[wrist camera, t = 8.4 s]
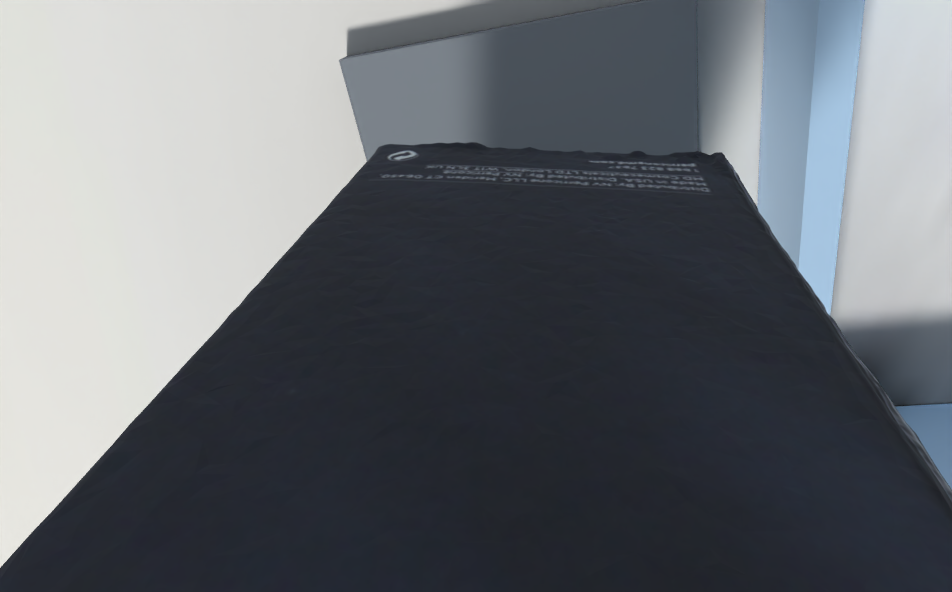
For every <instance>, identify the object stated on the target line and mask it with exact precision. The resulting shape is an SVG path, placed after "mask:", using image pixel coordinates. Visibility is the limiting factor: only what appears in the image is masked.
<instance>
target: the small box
mask: <svg viewBox="0 0 952 592" xmlns="http://www.w3.org/2000/svg"><path fill="white" fill-rule="evenodd" d="M0 592H952V489H951V488H950V486H949V485H948V483H947V482H946V480H945V479H944V478H943V476H942V475H941V473H940V472H939V470H938V469H937V467H936V465H935V464H934V462H933V460H932V459H931V457H930V456H929V454H928V452H927V451H926V449H925V448H924V446H923V444H922V443H921V441H920V439H919V438H918V436H917V434H916V433H915V432H914V431H913V430H912V428H911V427H910V426H909V425H908V424H907V423H906V422H905V420H904V419H903V417H902V416H901V414H900V413H899V412H898V410H897V409H896V407H895V406H894V404H893V403H892V401H891V400H890V398H889V397H888V396H887V394H886V393H885V391H884V390H883V388H882V387H881V385H880V383H879V382H878V380H877V379H876V378H875V377H874V375H873V374H872V373H871V372H870V371H869V369H868V368H867V367H866V366H865V365H864V363H863V362H862V361H861V360H860V359H859V358H858V356H857V355H856V353H855V352H854V350H853V349H852V347H851V346H850V345H849V343H848V342H847V340H846V339H845V337H844V336H843V334H842V332H841V330H840V329H839V327H838V325H837V324H836V322H835V321H834V320H833V318H832V317H831V316H830V315H829V314H828V313H827V311H826V309H825V306H824V305H823V303H822V302H821V301H820V299H819V298H818V297H817V295H816V294H815V293H814V291H813V289H812V288H811V286H810V285H809V284H808V282H807V281H806V280H805V279H804V277H803V276H802V274H801V273H800V272H799V270H798V269H797V267H796V264H795V263H794V262H793V261H792V259H791V258H790V256H789V255H788V253H787V252H786V251H785V250H784V248H783V247H782V246H781V245H780V243H779V242H778V240H777V239H776V237H775V236H774V234H773V233H772V231H771V229H770V227H769V225H768V223H767V222H766V221H765V219H764V218H763V217H762V215H761V214H760V213H759V211H758V208H757V206H756V205H755V203H754V202H753V200H752V198H751V197H750V195H749V193H748V192H747V190H746V188H745V187H744V185H743V183H742V182H741V180H740V178H739V176H738V174H737V173H736V171H735V170H734V168H733V166H732V165H731V164H730V163H729V161H728V160H727V159H726V158H725V156H724V155H723V153H714V154H712V155H707V154H705V153H702V152H699V151H696V152H675V153H672V154H669V155H647V154H645V153H644V152H642V151H633V152H631V153H628V154H621V153H601V152H584V151H581V150H578V151H572V152H563V151H548V150H539V149H535V148H532V147H527V148H523V149H507V148H501V147H498V148H490V147H486V146H485V145H483V144H480V143H477V142H469V143H459V142H455V143H433V144H418V145H400V144H386V145H383V146H380V147H378V149H377V150H376V152H375V153H374V154H373V156H372V157H371V158H370V159H369V160H368V161H367V162H366V164H365V165H364V166H363V167H362V168H361V169H360V170H359V171H358V172H357V173H356V175H355V176H354V177H353V178H352V179H351V181H350V182H349V183H348V184H347V185H346V186H345V187H344V188H343V189H342V190H341V191H340V192H339V194H338V195H337V196H336V197H335V198H334V199H333V201H332V202H331V203H330V204H329V205H328V207H327V208H326V209H325V210H324V211H323V212H322V214H321V215H320V216H319V217H318V218H317V219H316V220H315V221H314V222H313V223H312V224H311V225H310V226H309V227H308V228H307V229H306V231H305V232H304V233H303V234H302V235H301V237H300V238H299V239H298V240H297V241H296V242H295V243H294V245H293V246H292V247H291V248H290V249H289V250H288V251H287V252H286V253H285V254H284V255H283V257H282V258H281V259H280V260H279V261H278V262H277V263H276V264H275V265H274V267H273V268H272V269H271V270H270V271H269V272H268V273H267V275H266V276H265V277H264V278H263V279H262V280H261V281H260V283H259V284H258V285H257V286H256V287H255V288H254V289H253V290H252V291H251V292H250V293H249V294H248V295H247V297H246V298H245V299H244V300H243V302H242V303H241V304H240V305H239V306H238V307H237V308H236V309H235V310H234V311H233V312H232V313H231V314H230V315H229V317H228V318H227V319H226V320H225V321H224V323H223V324H222V325H221V326H220V327H219V329H218V330H217V331H216V332H215V333H214V334H213V335H212V336H211V337H210V338H209V339H208V340H207V341H206V342H205V343H204V345H203V346H202V347H201V348H200V349H199V350H198V351H197V352H196V353H195V354H194V355H193V356H192V357H191V358H190V359H189V361H188V362H187V363H186V364H185V365H184V366H183V367H182V368H181V369H180V371H179V372H178V373H177V374H176V375H175V376H174V377H173V378H172V379H171V380H170V382H169V383H168V384H167V385H166V386H165V387H164V388H163V389H162V390H161V391H160V393H159V394H158V395H157V396H156V397H155V398H154V399H153V400H152V401H151V403H150V404H149V405H148V406H147V407H146V408H145V409H144V410H143V411H142V412H141V413H140V414H139V415H138V416H137V417H136V418H135V420H134V421H133V422H132V423H131V424H130V425H129V426H128V427H127V428H126V430H125V431H124V432H123V433H122V434H121V435H120V437H119V438H118V439H117V440H116V441H115V442H114V444H113V445H112V446H111V447H110V448H109V449H108V450H107V451H106V452H105V454H104V455H103V456H102V457H101V458H100V459H99V460H98V461H97V462H96V463H95V465H94V466H93V467H92V468H91V469H90V470H89V471H88V472H87V473H86V475H85V476H84V477H83V478H82V479H81V480H80V481H79V482H78V483H77V485H76V486H75V487H74V488H73V489H72V490H71V491H70V492H69V493H68V494H67V496H66V497H65V498H64V499H63V500H62V501H61V502H60V503H59V504H58V506H57V507H56V508H55V509H54V510H53V511H52V512H51V513H50V514H49V515H48V516H47V517H46V518H45V519H44V521H43V522H42V523H41V524H40V525H39V526H38V527H37V528H36V529H35V530H34V531H33V532H32V533H31V534H30V535H29V537H28V538H27V539H26V540H25V541H24V542H23V543H22V544H21V545H20V547H19V548H18V549H17V550H16V551H15V552H14V553H13V554H12V555H11V557H10V558H9V559H8V560H7V561H6V562H5V563H4V564H3V566H2V567H1V568H0Z"/></svg>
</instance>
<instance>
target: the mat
mask: <svg viewBox="0 0 952 592" xmlns="http://www.w3.org/2000/svg"><path fill="white" fill-rule="evenodd" d="M339 62H340V65H341V69H342V73H343V76H344V80H345V83H346V87H347V91H348V94H349V98H350V102H351V105H352V109H353V112H354V116H355V120H356V123H357V127H358V130H359V134H360V138H361V141H362V145H363V148H364V152H365V156H366V159H367V161H368V160H369V159H370V158H371V157H372V156H373V154H374V153H375V152H376V150H377V149H378V147H380V146H383V145H386V144H400V145H418V144H433V143H455V142H459V143H469V142H477V143H480V144H483V145H485V146H486V147H490V148H498V147H501V148H507V149H523V148H527V147H532V148H535V149H539V150H548V151H563V152H572V151H578V150H581V151H584V152H601V153H621V154H628V153H631V152H633V151H642V152H644V153H645V154H647V155H669V154H672V153H675V152H696V151H698V105H697V5H696V0H642V1H636V2H631V3H626V4H621V5H615V6H610V7H605V8H600V9H594V10H589V11H584V12H579V13H573V14H568V15H563V16H557V17H552V18H547V19H542V20H536V21H531V22H526V23H521V24H515V25H510V26H505V27H499V28H494V29H489V30H484V31H478V32H473V33H468V34H463V35H457V36H452V37H447V38H442V39H436V40H431V41H426V42H420V43H415V44H410V45H405V46H399V47H394V48H389V49H384V50H378V51H373V52H368V53H363V54H357V55H352V56H347V57H344V58H342V59H340V60H339Z"/></svg>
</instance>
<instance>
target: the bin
mask: <svg viewBox="0 0 952 592" xmlns="http://www.w3.org/2000/svg"><path fill="white" fill-rule="evenodd" d="M864 4H865V0H766V6H765V32H764V57H763V82H762V108H761V133H760V158H759V184H758V211H759V213H760V214H761V215H762V217H763V218H764V219H765V221H766V222H767V223H768V225H769V227H770V229H771V231H772V233H773V234H774V236H775V237H776V239H777V240H778V242H779V243H780V245H781V246H782V247H783V248H784V250H785V251H786V252H787V253H788V255H789V256H790V258H791V259H792V261H793V262H794V263H795V264H796V267H797V269H798V270H799V272H800V273H801V274H802V276H803V277H804V279H805V280H806V281H807V282H808V284H809V285H810V286H811V288H812V289H813V291H814V293H815V294H816V295H817V297H818V298H819V299H820V301H821V302H822V303H823V305H824V306H825V309H826V311H827V313H828V314H829V315H830V312H831V303H832V294H833V285H834V276H835V267H836V258H837V249H838V240H839V231H840V222H841V213H842V204H843V195H844V186H845V177H846V167H847V158H848V149H849V140H850V131H851V122H852V113H853V104H854V95H855V86H856V77H857V68H858V59H859V50H860V41H861V32H862V22H863V13H864ZM896 409H897V410H898V412H899V413H900V414H901V416H902V417H903V419H904V420H905V422H906V423H907V424H908V425H909V426H910V427H911V428H912V430H913V431H914V432H915V433H916V434H917V436H918V438H919V439H920V441H921V443H922V444H923V446H924V448H925V449H926V451H927V452H928V454H929V456H930V457H931V459H932V460H933V462H934V464H935V465H936V467H937V469H938V470H939V472H940V473H941V475H942V476H943V478H944V479H945V480H946V482H947V483H948V485H949V486H950V488H951V489H952V403H950V404H932V405H914V406H897V407H896Z"/></svg>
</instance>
